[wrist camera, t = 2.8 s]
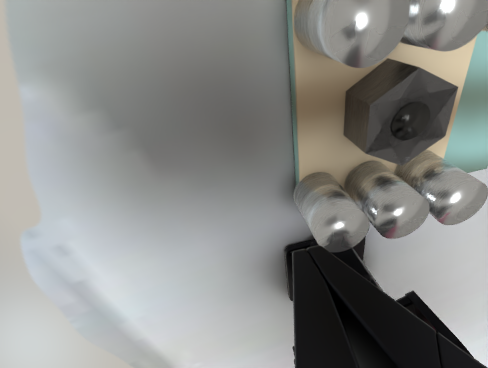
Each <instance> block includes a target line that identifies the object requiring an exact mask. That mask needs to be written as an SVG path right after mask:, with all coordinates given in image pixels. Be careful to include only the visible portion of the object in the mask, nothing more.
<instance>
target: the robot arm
mask: <svg viewBox="0 0 488 368" xmlns="http://www.w3.org/2000/svg"><path fill="white" fill-rule="evenodd" d="M365 237H366V236H365ZM365 237H364V238H363V239H362V240H361V241H360V242H359V243H358V244H357V245H355V246H354V247H352V248H350V249H348V250H345V251H342V252H329V251H328V250H326V249H325V248H324V247H322V246H320V245H318V243H317V241H316V240H312V241H308V242H304V243H300V244H295V245H291V246H288V247H287V248H286V249H285V263H286V274H287V285H288V295H289V298H290V300H291V301H293V305H294V346H293V351H294V356H295V359H294V364H295V368H487V367H486V366H484V365H483V364H481V363H480V362H479V361H477V360H476V359H474V357H473V356H472V355H471V354H470V352H469V351H468V350H467V349H466V347H465V346H464V345H463V344H462V343H461V342H460V341H459V339H458V338H457V337H456V336H455V335H454V334H453V333H452V332H451V331H450V330H449V329H448V328H447V327H446V325H445V324H444V323H443V322H442V321H441V320H440V319H439V318H438V317H437V316H436V315H435V314H434V313H433V311H432V310H431V309H430V308H429V307H428V306H427V305H426V304H425V303H424V302H423V301H422V300H421V299H420V297H419V296H418V295H417V294H416V293H415V292H414V291H411V292H409V293H407V294H405V296H404V297H402V298H400V299H398V300H396V301H395V300H394V299H392V298H391V297H390V296H388V295H387V294H386V293H384V292H383V291H382V289H381V288H380V286H379V285H378V283H377V282H376V280H375V279H374V278H373V276H372V275H371V273H370V272H369V270H368V269H367V267H366V266H365V264H364V263H363V253H364V245H365ZM290 252H291V253H290Z"/></svg>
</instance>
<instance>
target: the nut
mask: <svg viewBox="0 0 488 368" xmlns="http://www.w3.org/2000/svg"><path fill="white" fill-rule="evenodd" d="M457 90H458V87H457V86H456V85H454V84H452V83H450V82H448V81H446V80H444V79H442V78H440V77H438V76H436V75H434V74H432V73H430V72H428V71H426V70H424V69H422V68H420V67H417V66H413V65H410V64H406V63H403V62H399V61H396V60H392V59H389V58H387V59H386V60H385V61H384V62H382V63H381V64H380V65H378V66H377V67H376V68H375V69H373V70H372V71H371V72H370V73H368V74H367V75H366V76H364V77H363V78H362V79H361V80H359V81H358V82H357V83H355V84H354V85H353V86H352V87H350V88H349V89H348V90H347V91H346V95H345V115H344V134H343V135H344V136H345V137H346V138H348V139H349V140H350V141H351V142H352V143H354V144H355V145H356V146H357V147H358V148H359V149H361V150H362V151H363V152H364V153H365V154H368V155H371V156H374V157H377V158H380V159H383V160H386V161H389V162H392V163H395V164H398V165H401V166H403V165H404V164H405V163H407V162H408V161H410V160H411V159H413V158H414V157H416V156H417V155H419V154H420V153H422V152H423V151H425V150H426V149H427V148H429V147H430V146H432V145H433V144H435V143H436V142H438V141H439V140H441V139H442V138H444V137H445V136H446V132H447V129H448V125H449V121H450V117H451V113H452V109H453V106H454V102H455V98H456V94H457Z"/></svg>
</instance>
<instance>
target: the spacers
mask: <svg viewBox="0 0 488 368" xmlns="http://www.w3.org/2000/svg"><path fill="white" fill-rule="evenodd" d="M294 29H295V33H296V36H297V38H298V40H299V41H300V43H301V44H302V45H303V46H304V47H305V48H307V49H308V50H310V51H313V52H315V53H318V54H320V55H323V56H325V57H328V58H330V59H333V60H335V61H338V62H340V63H343V64H345V65H348V66H350V67H354V68H366V67H370V66H373V65H375V64H377V63H379V62H381V61H382V60H383V59H385V58H386V57H387V56H388V55H389V54H390V53H391V52H392V51H393V50H394V49H395V48H396V46H397V45H398V44H399V43H402V44H407V45H412V46H417V47H422V48H427V49H432V50H437V51H444V52H446V51H452V50H456V49H458V48H460V47H462V46H464V45H466V44H467V43H469V42H470V41H471V40H472V39H474V38H475V37H476V36H477V35H478V34H479V33H480V32H481V31H485V32H488V0H299V1H298V3H297V6H296V9H295V13H294ZM344 188H345V190H344V189H343V187H342V186H341V185H340V184H339V183H338V182H337V180H336V179H335V178H334V177H333V176H332V175H331V174H329V173H326V172H316V173H312V174H309V175H308V176H306V177H304V178H303V179H302V180H301V181H300V182H299V183H298V184H297V186H296V188H295V190H294V196H293V197H294V201H295V203H296V205H297V207H298V209H299V210H300V212H301V214H302V216H303V218H304V219H305V221H306V223H307V225H308V227H309V229H310V230H311V232H312V234H313V236H314V238H315V239H316V241H317V243H318V245H320V246H322V247H324V248H325V249H326V250H328V251H329V252H342V251H345V250H348V249H350V248H352V247H354V246H355V245H357V244H358V243H359V242H360V241H361V240H362V239H363V238H364V237H365V236H366V234H367V232H368V229H369V221H370V222H371V223H372V225H373V226H374V227H375V228H376V229H377V230H378V232H379V233H380V234H381V235H382V236H384V237H386V238H400V237H403V236H406V235H408V234H410V233H412V232H413V231H415V230H416V229H417V228H418V227H419V226H421V224H422V223H423V222H424V221H425V219H426V218H427V216H428V213H430V214H431V215H432V216H433V217H434V218H435V219H437V220H438V221H439V222H440V223H442V224H444V225H454V224H458V223H461V222H463V221H465V220H467V219H468V218H470V217H471V216H473V215H474V214H475V213H476V212H477V211H478V210H479V209H480V208H481V207H482V206H483V204H484V203H485V201H486V199H487V196H488V188H487V186H486V185H485V184H484V183H482V182H481V181H479V180H477V179H476V178H474V177H473V176H471V175H469V174H468V173H466V172H464V171H463V170H461V169H460V168H458V167H456V166H455V165H453V164H451V163H450V162H448V161H446V160H445V159H443V158H442V157H440V156H438V155H437V154H435V153H433V152H432V151H430V150H425V151H423V152H422V153H420V154H419V155H417V156H416V157H414V158H413V159H411V160H410V161H408V162H407V163H405V164H404V165H403V166H401V165H398V166H397V167H396V169H395V172H392V171H391V170H390V169H389V168H388V167H386V166H385V165H384V164H383V163H381V162H379V161H374V160H373V161H366V162H363V163H361V164H359V165H358V166H356V167H355V168H354V169H353V170H352V171H351V172H350V173H349V174H348V176H347V178H346V180H345V184H344Z"/></svg>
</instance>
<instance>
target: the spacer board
mask: <svg viewBox="0 0 488 368" xmlns="http://www.w3.org/2000/svg"><path fill="white" fill-rule="evenodd" d="M298 1H299V0H286V4H287V23H288V43H289V62H290V82H291V101H292V120H293V140H294V159H295V179H296V186H297V184H298V183H299V182H300V181H301V180H302V179H303V178H304V177H306V176H308V175H309V174H312V173H316V172H326V173H329V174H331V175H332V176H333V177H334V178H335V179H336V180H337V182H338V183H339V184H340V185H341V186H342V187H343V189H344V190H345V188H344V184H345V180H346V178H347V176H348V174H349V173H350V172H351V171H352V170H353V169H354V168H355V167H356V166H358V165H359V164H361V163H363V162H366V161H373V160H374V161H379V162H381V163H383V164H384V165H385V166H386V167H388V168H389V169H390V170H391V171H392V172H395V169H396V167H397V166H398V164H395V163H392V162H389V161H386V160H383V159H380V158H377V157H374V156H371V155H368V154H365V153H364V152H363V151H362V150H361V149H359V148H358V147H357V146H356V145H355V144H354V143H352V142H351V141H350V140H349V139H348V138H346V137H345V136H344V135H343V134H344V115H345V95H346V91H347V90H348V89H349V88H350V87H352V86H353V85H354V84H355V83H357V82H358V81H359V80H361V79H362V78H363V77H364V76H366V75H367V74H368V73H370V72H371V71H372V70H373V69H375V68H376V67H377V66H378V65H380V64H381V63H382V62H384V61H385V60H386V59H387V58H389V59H392V60H396V61H399V62H403V63H406V64H410V65H413V66H417V67H420V68H422V69H424V70H426V71H428V72H430V73H432V74H434V75H436V76H438V77H440V78H442V79H444V80H446V81H448V82H450V83H452V84H454V85H456V86H457V87H458V90H457V94H456V98H455V102H454V106H453V109H452V113H451V117H450V121H449V125H448V129H447V132H446V136H445V137H444V138H442V139H441V140H439V141H438V142H436V143H435V144H433V145H432V146H430V147H429V148H427V149H426V150H430V151H432V152H433V153H435V154H437V155H438V156H440V157H442V158H443V159H445V160H446V161H448V162H450V163H451V164H453V165H455V166H456V167H458V168H460V169H461V170H463V171H464V172H466V173H469V172H474V171H478V170H483V169H487V167H488V32H485V31H481V32H480V33H479V34H478V35H477V36H476V37H475V38H474V39H472V40H471V41H470V42H469V43H467V44H466V45H464V46H462V47H460V48H458V49H456V50H452V51H446V52H444V51H437V50H432V49H427V48H422V47H417V46H412V45H407V44H402V43H399V44H398V45H397V46H396V48H395V49H394V50H393V51H392V52H391V53H390V54H389V55H388V56H387V57H386V58H385V59H383V60H382V61H381V62H379V63H377V64H375V65H373V66H370V67H366V68H354V67H350V66H348V65H345V64H343V63H340V62H338V61H335V60H333V59H330V58H328V57H325V56H323V55H320V54H318V53H315V52H313V51H310V50H308V49H307V48H305V47H304V46H303V45H302V44H301V43H300V41H299V40H298V38H297V36H296V33H295V29H294V13H295V9H296V6H297V3H298Z"/></svg>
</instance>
